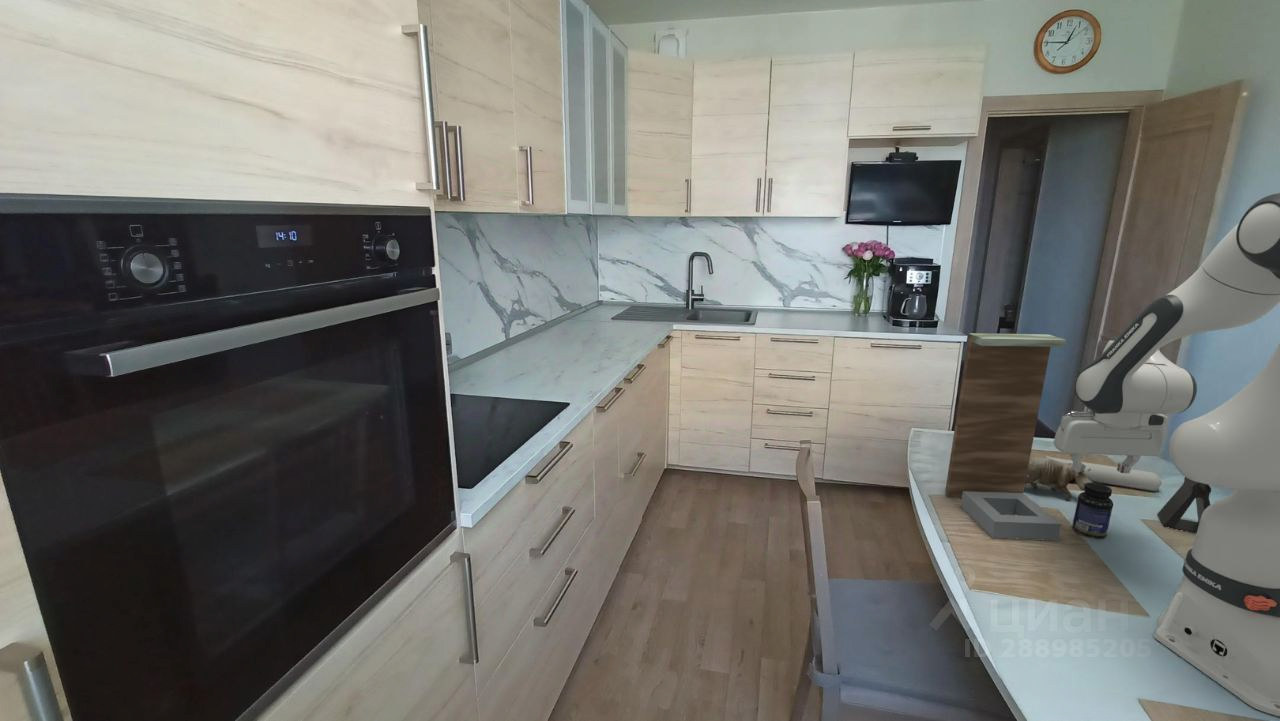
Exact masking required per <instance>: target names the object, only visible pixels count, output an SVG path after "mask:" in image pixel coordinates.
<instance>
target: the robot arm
mask: <svg viewBox="0 0 1280 721" xmlns="http://www.w3.org/2000/svg"><path fill="white" fill-rule="evenodd" d="M1279 304H1280V192H1277V193H1272V194H1270V195H1267V196H1264V197H1262V198H1260V199H1258V200H1257V201H1255V202H1254V203H1253V204H1252V205H1251V206H1250V207H1248V209H1247V210H1246V211H1245V213H1244V214H1243V215H1242V218H1241V219H1240V221H1239V222H1238V223H1237V224H1236V225H1235V226H1233V228H1232V229H1231V230H1229V231H1228V233H1227V234H1226V235H1225V236H1224V237H1223V238H1222V239H1221V240H1220V241H1219V242H1218V243H1217V244H1216V246H1215V247H1214V248H1213V249H1212V250H1211V251H1210V253H1209V255H1207V256H1206V258H1205V260H1204V261H1203V262H1202V264H1201V265H1200V266H1199V267H1198V268H1197V269H1196V270H1195V272H1194V273H1193V274H1192V275H1191V276H1189V277H1188V278H1187V279H1186V280H1184V282H1183V283H1181V284H1180V285H1178V286H1177V287H1176V288H1175V289H1173V290H1171V291H1170V292H1168V293H1167V294H1165V295H1163V296H1161V297H1159V298H1157V299H1156V300H1154V301H1152V303H1150V304H1149V305H1148V306H1146V307H1145V308H1144V309H1143V310H1142V311H1141V312H1140V313H1139V314H1138V315H1137V316H1136V317H1135V318H1134V320H1132V321H1131V322H1130V324H1129V325H1128V326H1127V327H1126V328H1125V329H1124V330H1123V331H1122V332H1121V334H1120V335H1118V337H1117V338H1113V339H1111V340H1109V341H1108V342H1107V343H1106V345H1105V347H1104V349H1103V351H1102V353H1101V355H1100V356H1098V357H1097V358H1096V359H1094V360H1092V361H1091V362H1090V363H1088V364H1087V365H1086V366H1085V367H1084V368H1083V369H1082V370H1081V371H1080V372H1079V373H1078V375H1077V377H1076V379H1075V383H1074V392H1075V396H1076V397H1077V399H1078V400H1079V401H1080V403H1082V405H1084V406H1085V407H1086V408H1087V409H1088V410H1086V411H1085V410H1084V411H1078V410H1071V411H1069V412H1068V413H1065V414H1064V415H1062V417H1061V419H1060V422H1059V426H1058V428H1057V430H1056V433H1055V436H1054V440H1053V445H1054V447H1055V448H1056V449H1057V450H1058V451H1059V452H1062V454H1065V455H1069V456H1070V458H1071V459H1070V460H1072V461H1073V465H1072V469H1073V470H1074V471H1075V472H1084V471H1085V470H1084V469H1085V467H1086V465H1084V464H1082V463H1081V462H1082V461H1081V459H1083V458H1084V455H1095V456H1096V455H1098V456H1100V455H1102V456H1103V455H1104V456H1105V455H1107V456H1126V457H1125V459H1124V460H1123V461H1122V462H1118V463H1117V466H1116V467H1117V471H1119V472H1120V473H1130V471H1131V469H1132V468H1133V467H1134V466H1135V465H1136V464H1137V463H1138V462H1139V461H1140V459H1141V457H1143V456H1144V457H1157V456H1158V455H1159V454H1160V453H1162V452H1163V449H1164V447H1165V441H1166V436H1167V429H1166V426H1167V425H1168V424H1169V419H1170V418H1169V417H1168V416H1166V415H1172V414H1173V415H1174V414H1181V413H1183V412H1185V411H1187V410H1188V409H1189V408H1190V407H1191V406H1192V405H1193V404H1194V401H1195V399H1196V397H1197V392H1198V385H1197V381H1196V379H1195V376H1193V374H1192V373H1190V371H1189V370H1187V369H1186V368H1185V367H1181V366H1178V365H1176V364H1175V363H1174V362H1172V361H1171V360H1169V359H1168V358H1167V357H1165V355H1163V353H1162V352H1161V351H1160V349H1161V348H1163V347H1164V346H1165V345H1167V344H1169V343H1171V342H1173V341H1177V340H1179V339H1183V338H1186V337H1189V336H1194V335H1197V334H1198V335H1199V334H1203V333H1207V332H1213V331H1221V330H1226V329H1233V328H1237V327H1241V326H1245V325H1248V324H1251V323H1254V322H1256V321H1258V320H1259V319H1261V318H1262V317H1263V316H1265V315H1267V314H1268V313H1269V312H1271V311H1272V310H1273V309H1275V307H1277V305H1279ZM1168 452H1169V457H1170V459H1171V461H1172V463H1173V465H1174V466H1175V468H1176V469H1177V471H1178V472H1179V473H1180V474H1181V475H1182V476H1183V477H1184V478H1185V477H1186V478H1188V479H1190V480H1192V481H1196V482H1200V483H1204V484H1208V485H1209V486H1213V487H1218V488H1223V489H1226V490H1227V489H1228V490H1234V491H1233V492H1231V493H1230V494H1228V496H1226V497H1224V498H1221V499H1220V500H1217V501H1214V502H1213V503H1210V506H1208V507H1207V508H1206V509H1205V510H1204V512H1203V513H1202V516H1201V519H1200V523H1199V527H1198V530H1197V534H1196V535H1195V537H1194V541H1193V546H1192V548H1190V549H1189V550H1188V551H1187V553H1186V556H1185V558H1184V559H1183V566H1182V573H1183V576H1182V579H1181V581H1180V583H1179V585H1178V587H1177V590H1176V591H1175V593H1174V594H1173V597H1172V599H1171V601H1170V603H1169V604H1168V606H1167V607H1166V609H1165V610H1164V611H1163V613H1161V614H1160V616H1159V617H1158V620H1157V623H1158V627H1157V628H1156V629H1155V631H1154V634H1153V636H1154V638H1155V640H1157V641H1159V642H1160V643H1161V644H1163V645H1164V646H1165V647H1167V648H1168V649H1170V650H1171V651H1173V652H1174V653H1175V654H1177V655H1178V656H1179V657H1181V658H1182V659H1183V660H1185V661H1186V662H1188V663H1189V664H1191V665H1192V666H1193V667H1195V668H1196V669H1198V670H1199V671H1201V672H1202V673H1203V674H1205V675H1206V676H1207V677H1209V678H1211V680H1213V681H1215V682H1216V683H1217V684H1219V685H1220V686H1222V687H1223V688H1224V689H1226V690H1227V691H1229V692H1230V693H1231V694H1233V695H1235V697H1237V698H1238V699H1240V700H1241V701H1243V702H1244V703H1246V704H1247V705H1249V706H1250V707H1252V708H1254V709H1256V710H1258V711H1261V712H1263V713H1266V714H1269V715H1272V716H1275V717H1276V716H1277V717H1280V343H1279V344H1278V345H1277V347H1276V349H1274V352H1273V353H1272V354H1271V356H1270V358H1269V359H1268V361H1267V362H1266V364H1265V365H1264V366H1263V367H1262V369H1261V371H1259V373H1258V374H1257V375H1256V376H1255V377H1254V378H1253V379H1252V380H1251V381H1250V382H1249V383H1248V384H1246V386H1244V387H1243V388H1242V389H1241V390H1240V391H1238V392H1237V393H1235V395H1233V396H1232V397H1231V398H1229V399H1228V400H1226V401H1225V402H1224V403H1222V404H1220V406H1218V407H1216V408H1215V409H1214V408H1213V409H1212V410H1211V411H1209V412H1207V413H1205V414H1203V415H1201V416H1198V417H1196V418H1193V419H1191V420H1187V421H1185V422H1183V423H1181V424H1180V425H1178V427H1176V429H1175V430H1174V431H1173V433H1172V434H1171V436H1170V439H1169V443H1168Z"/></svg>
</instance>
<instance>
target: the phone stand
mask: <svg viewBox="0 0 1280 721" xmlns="http://www.w3.org/2000/svg"><path fill="white" fill-rule="evenodd" d="M1183 478H1184V482H1183V484H1182V485H1181V486H1180V487H1179V488H1178V489H1177V491H1176V492H1175V493H1174V494H1173V495H1172V496H1171V497H1170V499H1169V500H1168V501H1166V503H1165V504H1164V506H1163V507H1161V509H1160V510H1159V511H1158V512H1157V514H1156V515H1157V517H1158V519H1159V520H1160V523H1161V524H1162V525H1163V527H1164V528H1166V527H1169V528H1168V529H1171V528H1173V529H1172V530H1175V529H1177V531H1180V530H1183V531H1182V532H1185V531H1188V532H1187V533H1191V532H1194V533H1193V534H1195V533H1197V530H1198V527H1199V523H1200V519H1201V516H1202V513H1203V512H1204V510H1205V509H1206V508H1207V507H1208V506H1210V505H1211V502H1210V495H1211V492H1212V487H1211V485H1208V484H1204V483H1200V482H1196V481H1192V480H1190V479H1188V478H1186V477H1185V476H1184V477H1183ZM1194 501H1195V503H1196V504H1195V506H1196V512H1197V513H1196V514H1197V521H1192V520H1189V519H1183V516H1184V515H1185V513H1186V512H1187V511H1188V509H1189V508H1190V506H1192V503H1193V502H1194Z"/></svg>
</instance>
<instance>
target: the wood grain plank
mask: <svg viewBox="0 0 1280 721" xmlns="http://www.w3.org/2000/svg"><path fill="white" fill-rule="evenodd" d="M1066 342H1067V339H1065V338H1062V337H1057V336H1054V335H1052V334H1041V333H1040V334H1039V333H1038V334H1037V333H1032V334H1031V333H1030V334H1029V333H976V332H974V333H971V332H969V333H968V339H967V344H966V352H965V356H964V358H965V359H964V365H963V371H962V377H961V386H960V391H959V397H958V403H957V404H958V405H957V411H956V418H955V425H954V429H953V430H954V431H953V436H952V444H951V451H950V458H949V464H948V471H947V477H946V485H945V491H944V495H945V497H947V498H953V499H954V498H957V499H962V494H963V491H969V492H1001V493H1023V494H1024V492H1025V486H1026V484H1025V481H1026V476H1027V470H1028V465H1029V460H1030V458H1031V454H1032V449H1033V443H1034V438H1035V433H1036V428H1037V422H1038V417H1039V410H1040V406H1041V399H1042V395H1043V390H1044V385H1045V380H1046V379H1045V378H1046V373H1047V369H1048V362H1049V358H1050V353H1051V348H1054V347H1056V348H1058V347H1059V348H1065V347H1066Z"/></svg>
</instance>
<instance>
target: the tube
mask: <svg viewBox="0 0 1280 721" xmlns="http://www.w3.org/2000/svg"><path fill="white" fill-rule="evenodd" d="M1044 457H1045V458H1051V459H1053V460H1056V461H1059V462H1062V463H1073V461H1072V459H1065V458H1058V457H1053V456H1049V455H1045V456H1044ZM1081 463H1082V464H1084V465H1086V467H1085V469H1084V470H1085V471H1084V472H1083V473H1085V474H1086V476H1087V478H1088V479H1089V480H1090V481H1091V482H1093V483H1099V484H1103V485H1110V486H1112V485H1113V486H1119V487H1123V488H1124V487H1125V488H1130V489H1137V490H1138V489H1139V490H1143V491H1150V492H1153V491H1158V490H1159V489H1160V487H1161V486H1162V484H1163V482H1162V480H1161V478H1160V475H1159V474H1156V473H1155V472H1152V471H1144V470H1137V469H1132V468H1131V471H1130V473H1120V472H1119V471H1117V467H1118V466H1113V465H1106V464H1105V465H1104V464H1097V463H1092V462H1091V463H1090V462H1086V461H1085V462H1084V461H1081ZM1090 468H1091V470H1090V471H1087V470H1088V469H1090Z"/></svg>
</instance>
